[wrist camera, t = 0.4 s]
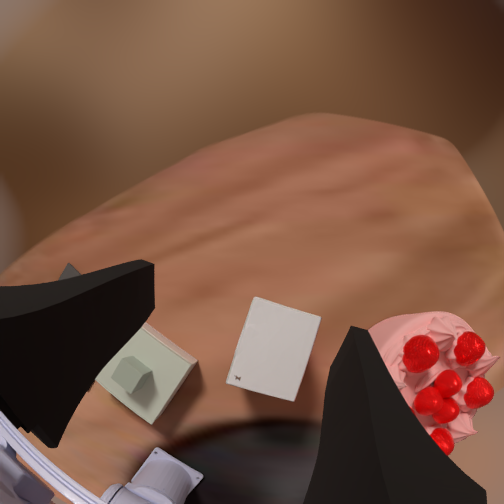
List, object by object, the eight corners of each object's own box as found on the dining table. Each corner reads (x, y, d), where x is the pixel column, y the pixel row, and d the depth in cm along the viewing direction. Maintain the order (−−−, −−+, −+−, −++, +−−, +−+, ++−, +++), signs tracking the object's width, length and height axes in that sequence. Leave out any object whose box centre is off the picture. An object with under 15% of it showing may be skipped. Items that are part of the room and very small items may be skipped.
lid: (155, 421, 30) (142, 433, 25) (97, 374, 31) (78, 379, 26) (193, 363, 32) (184, 369, 27) (130, 316, 33) (113, 315, 29)
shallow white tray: (161, 414, 33) (153, 422, 29) (106, 370, 34) (94, 374, 30) (198, 360, 35) (192, 364, 31) (138, 316, 36) (128, 315, 32)
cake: (463, 352, 34) (524, 354, 20) (399, 458, 30) (446, 495, 16) (384, 289, 37) (442, 270, 23) (304, 410, 33) (332, 453, 19)
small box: (280, 376, 34) (294, 404, 21) (233, 363, 35) (223, 384, 22) (298, 318, 36) (323, 316, 23) (252, 304, 36) (252, 295, 24)
